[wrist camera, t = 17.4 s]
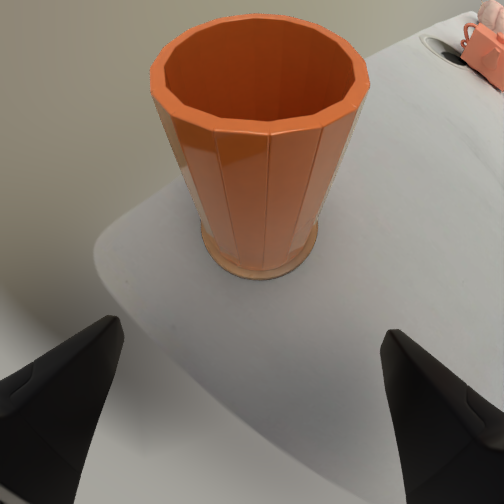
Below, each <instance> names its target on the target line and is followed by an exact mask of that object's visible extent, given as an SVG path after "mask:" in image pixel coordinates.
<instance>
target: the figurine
mask: <svg viewBox="0 0 504 504" xmlns="http://www.w3.org/2000/svg"><path fill="white" fill-rule="evenodd" d="M482 3H483V2H482ZM478 21H479V22H480V23H482V24H483V25H485V26H486V27H487V28H489V29H490V30H491V31H493V32H494V33H495V34H497V33H499V32H501V33H503V35H504V6H502V5H501V4H500V3H498V2H496V1H495V0H489V1H486V2H484V3H483V4H482V5H481V7H480V9H479V11H478Z"/></svg>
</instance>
